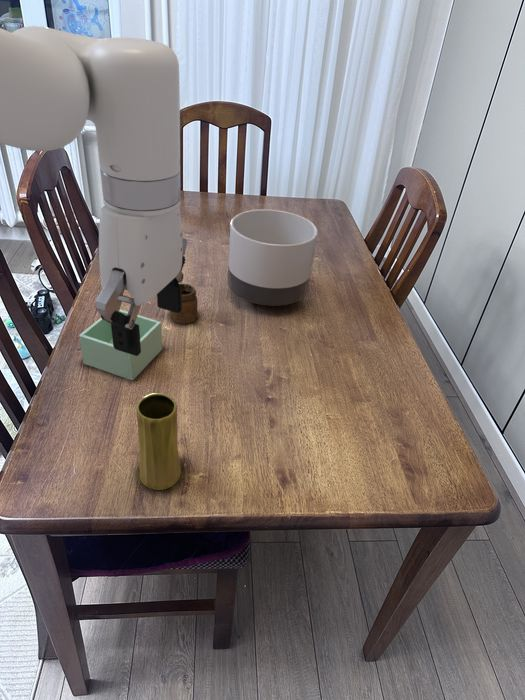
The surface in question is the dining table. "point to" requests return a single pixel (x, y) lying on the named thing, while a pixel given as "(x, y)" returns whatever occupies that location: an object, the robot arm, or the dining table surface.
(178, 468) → the vase
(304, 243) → the planter
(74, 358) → the dining table surface
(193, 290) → the utensil holder
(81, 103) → the robot arm
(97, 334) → the bin
